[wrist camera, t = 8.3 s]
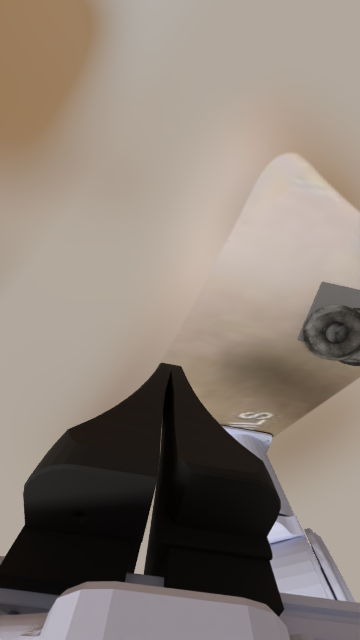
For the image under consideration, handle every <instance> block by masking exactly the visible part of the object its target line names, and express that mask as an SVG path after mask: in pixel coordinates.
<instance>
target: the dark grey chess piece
mask: <svg viewBox="0 0 360 640" xmlns="http://www.w3.org/2000/svg"><path fill="white" fill-rule="evenodd" d="M303 338H304V341H305V344H306V345H307V347H308V348H309V350H310V351H312V352H313V353H314V354H315V355H317V356H319V357H321V358H324V359H327V360H338V361H340V362H342V363H344V364H348V365H352V366H360V308H351V307H348V306H344V305H329V306H324V307H322V308H320V309H318V310H316V311H315V312H314V313H312V314H311V315H310V316H309V318H308V319H307V320H306V323H305V325H304V329H303Z"/></svg>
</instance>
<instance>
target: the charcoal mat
mask: <svg viewBox="0 0 360 640" xmlns="http://www.w3.org/2000/svg"><path fill="white" fill-rule="evenodd" d="M329 305H344V306H348V307H351V308H360V290H357V289H352V288H348V287H344V286H339V285H335V284H330V283H326V282H322V283H321V286H320V288H319V290H318V293H317V295H316V297H315V300H314V302H313V304H312V307H311V309H310V311H309V314H308V316H307V318H306V320H307V319H308V318H309V316H310V315H311V314H312V313H314V312H315V311H316V310H318V309H320V308H322V307H324V306H329ZM305 323H306V321H305ZM305 323H304V325H305ZM304 325H303V328H302V330H301V332H300V335H299V337H298V340H300V341H304V338H303V329H304Z"/></svg>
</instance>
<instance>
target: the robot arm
mask: <svg viewBox="0 0 360 640" xmlns="http://www.w3.org/2000/svg"><path fill="white" fill-rule="evenodd" d="M162 415H163V416H162ZM161 427H162V437H161ZM272 439H273V437H272V435H271V434H267V433H261V432H256V431H250V430H244V429H239V428H233V427H227V426H221V425H220V424H219V423H218V422H217V421H216V420H215V419H214V418H213V417H212V415H211V414H210V413H209V412H208V411H207V409H206V408H205V407H204V406H203V404H202V403H201V402H200V400H199V399H198V397H197V396H196V394H195V393H194V391H193V389H192V387H191V386H190V384H189V382H188V380H187V378H186V376H185V374H184V371H183V369H182V367H181V366H176V365H171V364H166V363H160V364H159V366H158V368H157V369H156V371H155V372H154V373H153V375H152V376H151V377H150V378H149V379H148V380H147V381H146V382H145V383H144V384H143V385H142V386H141V387H140V388H139V389H138V390H137V391H136V392H134V393H133V394H132V395H131V396H129V397H128V398H127V399H125V400H124V401H122V402H121V403H120V404H118V405H116V406H115V407H113V408H112V409H110V410H108V411H106V412H105V413H103V414H101V415H99V416H97V417H96V418H93V419H91V420H89V421H86V422H84V423H82V424H80V425H77V426H75V427H72V428H70V429H68V430H67V431H66V432H65V433H64V434H63V435H62V436H61V438H60V439H59V440H58V441H57V442H56V443H55V444H54V445H53V447H52V448H51V449H50V450H49V451H48V453H47V454H46V455H45V456H44V458H43V459H42V461H41V462H40V463H39V465H38V466H37V467H36V469H35V470H34V471H33V473H32V474H31V476H30V477H29V479H28V480H27V482H26V483H25V485H24V492H23V498H24V514H25V525H24V527H23V529H22V530H21V532H20V534H19V535H18V537H17V539H16V540H15V542H14V543H13V545H12V547H11V548H10V550H9V551H8V553H7V555H6V556H5V557H4V556H0V640H360V603H357V602H355V601H354V599H353V597H352V595H351V593H350V591H349V589H348V587H347V585H346V583H345V581H344V579H343V577H342V575H341V573H340V572H339V570H338V568H337V566H336V564H335V562H334V560H333V559H332V557H331V555H330V553H329V551H328V549H327V547H326V546H325V544H324V542H323V541H322V539H321V537H320V536H318V535H317V534H316V533H313V531H312V530H311V529H305V532H306V535H307V537H308V539H309V541H310V544H311V547H312V549H313V552H314V554H315V556H316V558H317V560H318V562H319V564H318V562H317V560H316V558H315V556H314V554H313V552H312V550H311V547H310V545H309V543H308V541H307V539H306V537H305V535H304V533H303V530H302V528H301V526H300V524H299V522H298V520H297V517H296V516H295V515H294V513H293V511H292V509H291V507H290V505H289V502H288V500H287V498H286V496H285V494H284V491H283V489H282V487H281V485H280V483H279V481H278V479H277V476H276V474H275V472H274V470H273V468H272V465H271V464H270V461H269V459H268V457H267V455H266V452H267V450H268V448H269V445H270V444H271V441H272ZM160 442H161V452H160ZM159 460H160V461H159ZM155 487H156V491H155V499H154V506H153V513H152V520H151V527H150V534H149V541H148V549H147V555H146V562H145V569H144V575H141V574H134V570H135V566H136V562H137V558H138V553H139V549H140V545H141V542H142V540H143V536H144V532H145V528H146V524H147V520H148V515H149V511H150V507H151V503H152V499H153V495H154V490H155ZM319 565H320V567H321V568H320V567H319Z"/></svg>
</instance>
